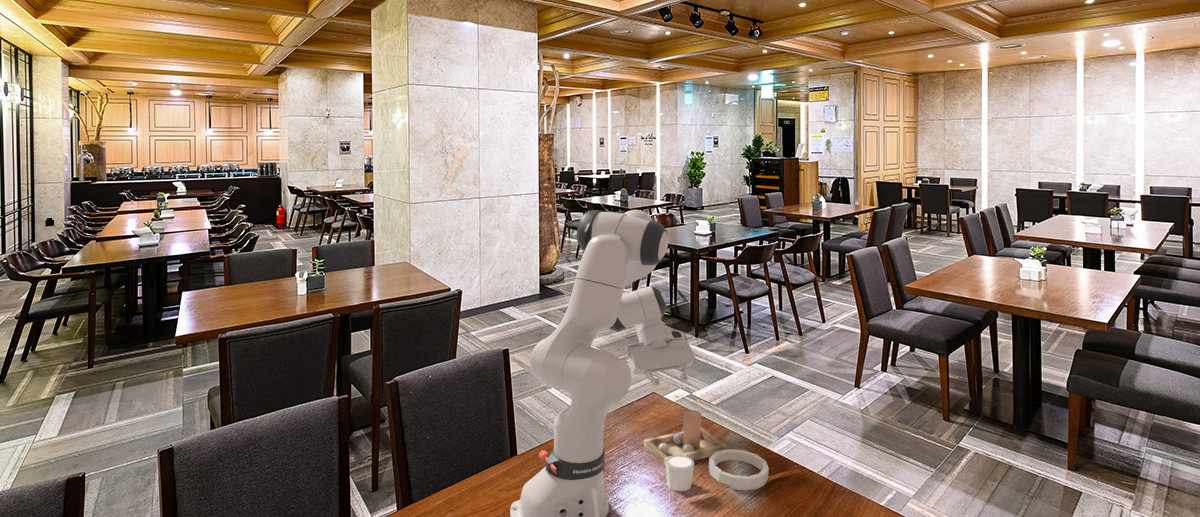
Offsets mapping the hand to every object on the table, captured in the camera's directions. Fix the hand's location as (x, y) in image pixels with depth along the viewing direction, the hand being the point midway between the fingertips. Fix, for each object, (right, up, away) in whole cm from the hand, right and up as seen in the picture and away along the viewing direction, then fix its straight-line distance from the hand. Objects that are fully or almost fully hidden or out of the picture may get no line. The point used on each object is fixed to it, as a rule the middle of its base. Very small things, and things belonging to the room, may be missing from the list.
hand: (670, 383), depth 176 cm
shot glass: (-1, -21, -25) cm, 33 cm away
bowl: (+15, -19, -19) cm, 31 cm away
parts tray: (+3, -17, -8) cm, 19 cm away
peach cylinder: (+5, -16, -7) cm, 18 cm away
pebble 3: (+4, -14, -11) cm, 19 cm away
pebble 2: (+3, -14, -5) cm, 15 cm away
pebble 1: (-3, -17, -11) cm, 20 cm away
